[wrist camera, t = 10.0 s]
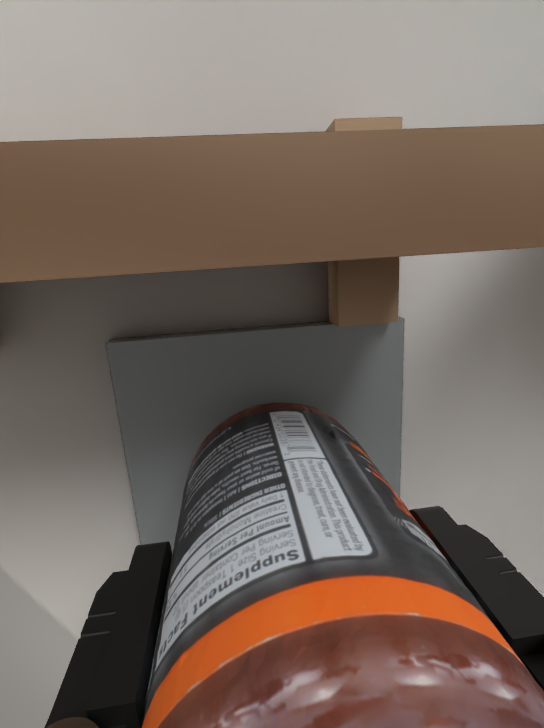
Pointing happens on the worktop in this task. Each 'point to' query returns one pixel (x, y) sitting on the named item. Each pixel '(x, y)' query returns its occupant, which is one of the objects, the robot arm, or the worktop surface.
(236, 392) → the mat
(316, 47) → the worktop surface
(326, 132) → the wooden panel
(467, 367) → the worktop surface
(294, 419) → the supplement bottle
